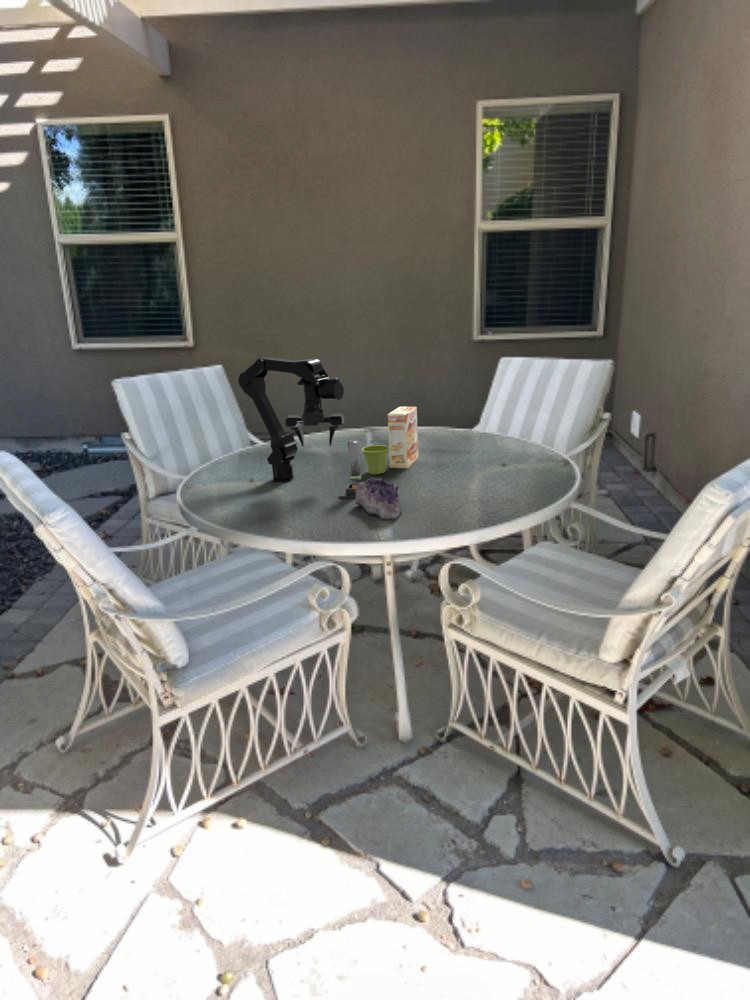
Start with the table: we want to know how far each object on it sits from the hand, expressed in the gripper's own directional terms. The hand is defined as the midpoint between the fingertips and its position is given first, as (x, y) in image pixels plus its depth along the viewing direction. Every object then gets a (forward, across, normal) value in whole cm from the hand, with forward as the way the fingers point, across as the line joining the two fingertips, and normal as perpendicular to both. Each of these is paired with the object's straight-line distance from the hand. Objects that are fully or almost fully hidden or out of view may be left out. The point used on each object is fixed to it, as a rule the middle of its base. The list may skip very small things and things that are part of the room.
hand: (316, 445), depth 229 cm
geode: (+14, +24, -28) cm, 40 cm away
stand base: (+13, +14, -12) cm, 23 cm away
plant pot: (+13, +18, +12) cm, 25 cm away
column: (+9, +14, -12) cm, 21 cm away
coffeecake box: (+13, +27, +24) cm, 38 cm away
